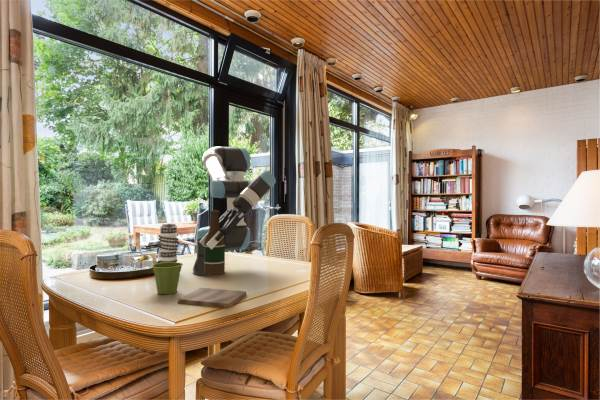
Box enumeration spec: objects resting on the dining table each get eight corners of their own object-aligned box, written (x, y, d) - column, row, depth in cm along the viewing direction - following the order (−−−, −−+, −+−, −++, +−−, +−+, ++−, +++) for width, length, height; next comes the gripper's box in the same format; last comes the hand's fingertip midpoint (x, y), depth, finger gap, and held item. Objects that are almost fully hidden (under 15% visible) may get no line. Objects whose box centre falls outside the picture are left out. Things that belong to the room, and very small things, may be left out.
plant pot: (189, 291, 139) (189, 263, 139) (164, 298, 129) (164, 268, 129) (169, 287, 145) (170, 260, 145) (144, 293, 135) (145, 265, 135)
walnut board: (177, 303, 124) (177, 299, 124) (200, 291, 139) (200, 287, 139) (228, 308, 119) (228, 303, 119) (246, 295, 134) (246, 291, 134)
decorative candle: (157, 272, 171) (158, 223, 171) (177, 271, 175) (177, 222, 175) (158, 276, 163) (159, 224, 162) (179, 275, 167) (179, 224, 166)
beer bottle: (222, 276, 124) (222, 210, 124) (200, 276, 124) (201, 210, 124) (227, 271, 132) (227, 209, 132) (207, 271, 132) (207, 209, 132)
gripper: (263, 209, 128) (222, 256, 119) (241, 207, 145) (203, 248, 136) (250, 195, 125) (207, 241, 116) (229, 195, 142) (190, 236, 133)
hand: (205, 245), depth 126 cm, fingers closed on beer bottle, 7 cm apart
